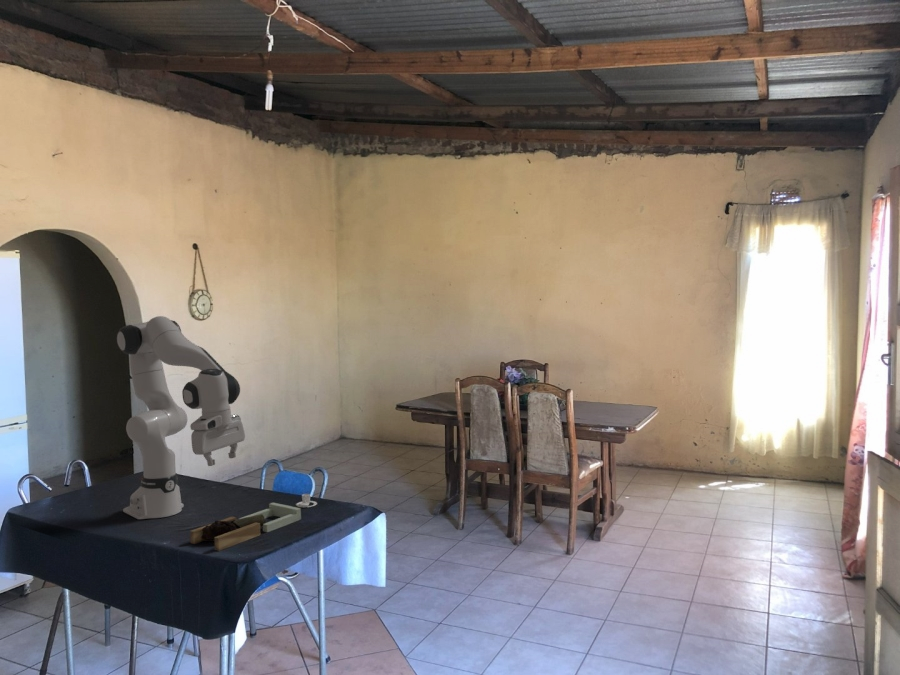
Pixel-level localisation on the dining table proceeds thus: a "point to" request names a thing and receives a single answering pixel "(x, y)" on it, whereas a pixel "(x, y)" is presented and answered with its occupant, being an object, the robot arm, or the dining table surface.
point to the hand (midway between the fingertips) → (222, 461)
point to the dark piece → (229, 526)
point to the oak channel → (228, 535)
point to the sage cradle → (283, 511)
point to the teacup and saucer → (305, 501)
